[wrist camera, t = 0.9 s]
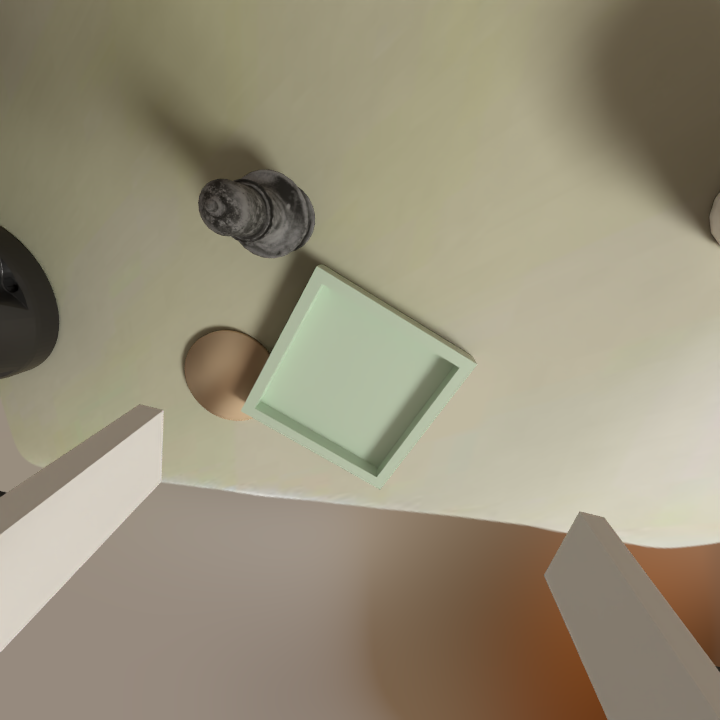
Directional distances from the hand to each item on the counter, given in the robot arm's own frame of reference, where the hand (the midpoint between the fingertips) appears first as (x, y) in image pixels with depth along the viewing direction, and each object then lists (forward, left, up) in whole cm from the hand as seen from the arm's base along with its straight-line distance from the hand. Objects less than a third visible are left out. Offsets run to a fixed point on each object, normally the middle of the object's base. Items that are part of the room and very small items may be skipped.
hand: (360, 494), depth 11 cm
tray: (0, -5, -21) cm, 21 cm away
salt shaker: (-12, +4, -21) cm, 25 cm away
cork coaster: (-10, -11, -21) cm, 26 cm away
